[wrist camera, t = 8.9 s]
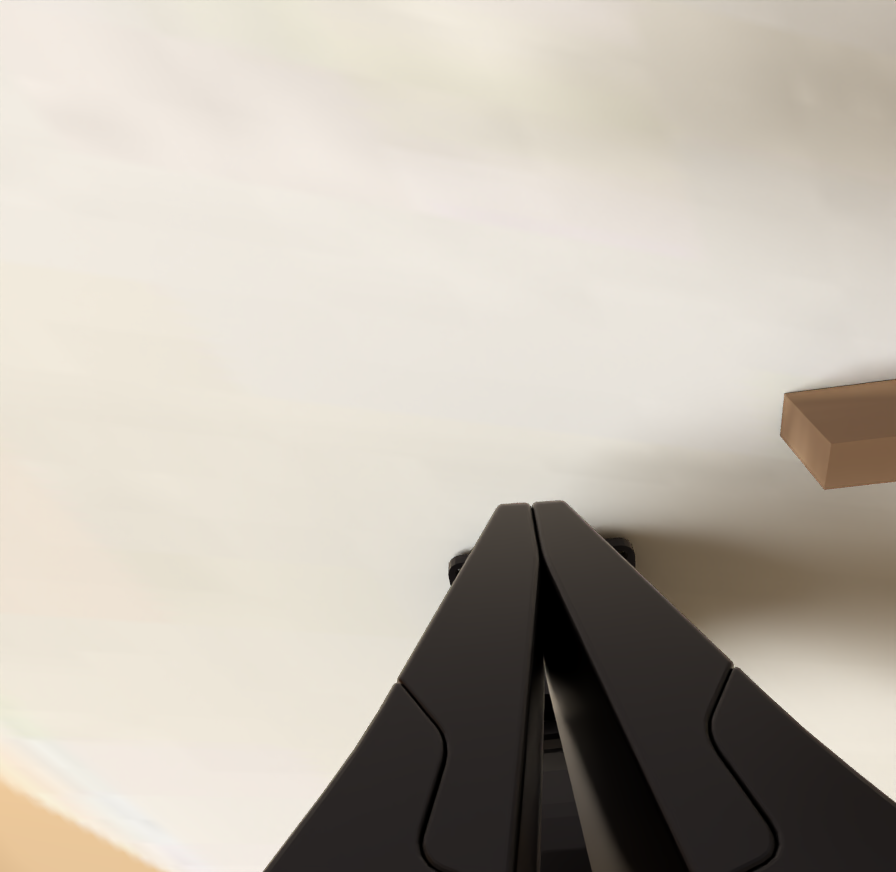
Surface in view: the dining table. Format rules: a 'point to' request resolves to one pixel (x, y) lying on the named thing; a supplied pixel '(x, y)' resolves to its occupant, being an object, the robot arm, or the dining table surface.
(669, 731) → the robot arm
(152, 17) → the dining table surface
